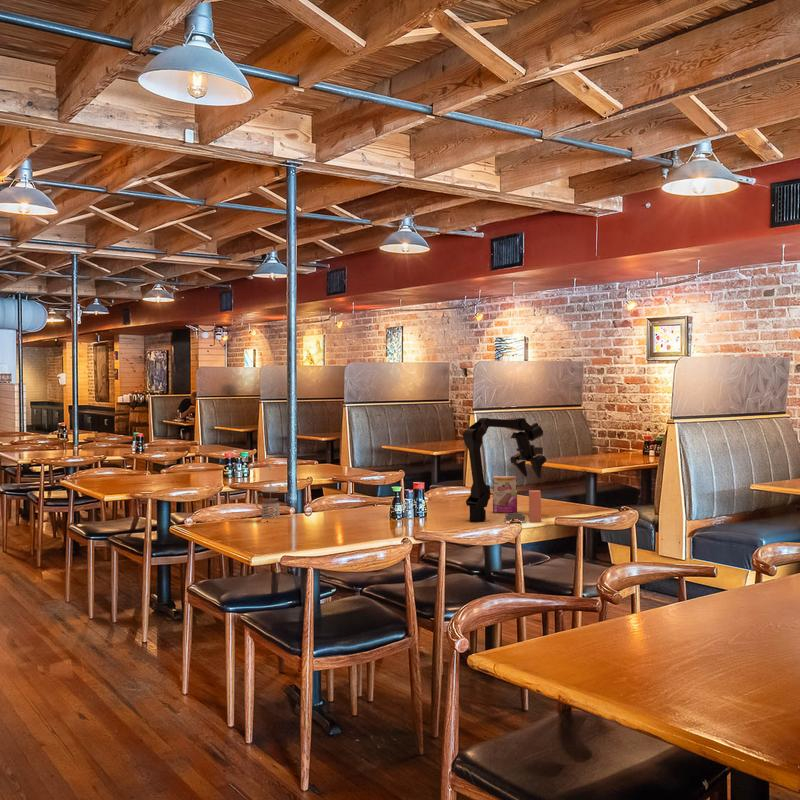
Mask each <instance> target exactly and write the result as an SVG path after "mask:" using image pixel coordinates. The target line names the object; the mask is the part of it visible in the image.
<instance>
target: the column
mask: <svg viewBox="0 0 800 800" xmlns="http://www.w3.org/2000/svg"><path fill="white" fill-rule="evenodd" d="M528 518H529V519H528V520H529V523H542V494H541V489H540V490H536V489H535V490H534V489H533V490H532V489H531V490H530V489H529V490H528Z"/></svg>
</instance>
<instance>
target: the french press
mask: <svg viewBox="0 0 800 800" xmlns="http://www.w3.org/2000/svg"><path fill="white" fill-rule="evenodd" d="M272 465H273V464H268V465H267V468H269V469H271V468H272V467H273V466H272ZM279 491H280V489H279V488H278V487H275V486H271V484H269V486H265V487H264V488H262V489H261V491H260V492H261V493H259V494H257V496H256V497H255V500H254V504H255V507H256V508H257V509H258V510H259V511H260V512H261V520H262V519H274V518H271V517H278V518H277V519H279V518H280V516H281V515H280V501H279V498H275V497H274V498H273V497H271V496H272V495H271V493H277V492H279ZM263 493H269V498H268V497H266V498H263V499H262V503H261V508H260V506H258V505H257V499H258V498H259V496H261V497H263ZM280 519H281V518H280Z"/></svg>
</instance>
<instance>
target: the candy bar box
mask: <svg viewBox="0 0 800 800" xmlns="http://www.w3.org/2000/svg"><path fill="white" fill-rule="evenodd" d="M513 512H517V513H518V476H513V475H512V476H510V475H509V476H507V475H505V476H503V475H500V476H497V475H495V476H492V513H493V514H507V513H513Z"/></svg>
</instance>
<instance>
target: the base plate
mask: <svg viewBox="0 0 800 800" xmlns="http://www.w3.org/2000/svg"><path fill="white" fill-rule="evenodd" d="M504 514H505V515H504V516H505V517H504V522H505V521H510V520H511V519H518V520H520V521H522V523H521V524H527V520H526V515H525V514H524V513H521V512H519V513H518V512H517V513H504Z"/></svg>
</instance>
